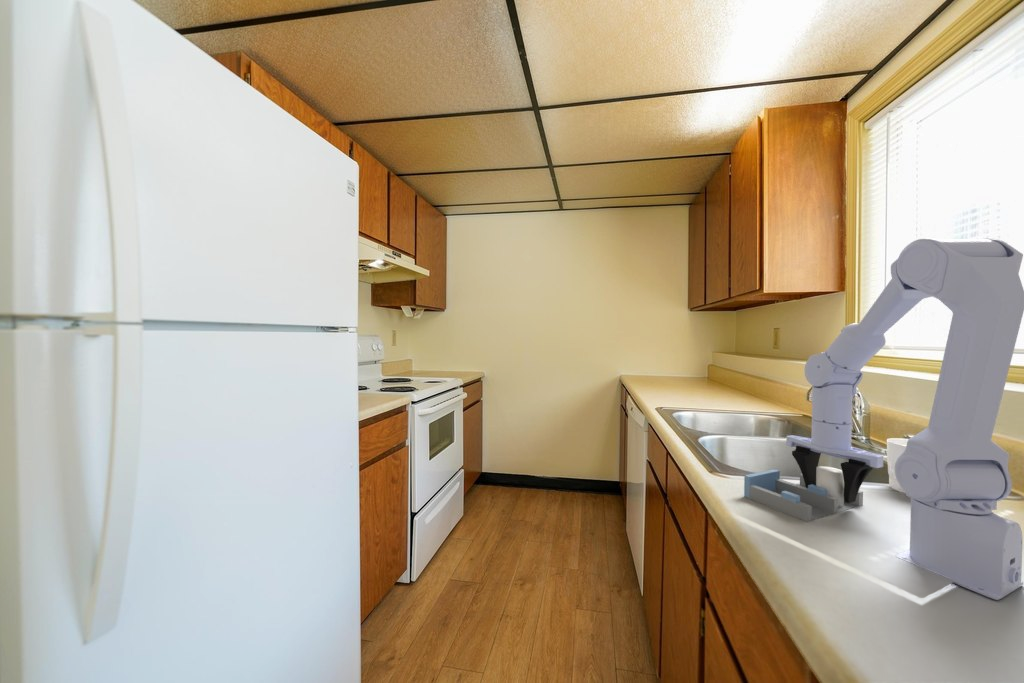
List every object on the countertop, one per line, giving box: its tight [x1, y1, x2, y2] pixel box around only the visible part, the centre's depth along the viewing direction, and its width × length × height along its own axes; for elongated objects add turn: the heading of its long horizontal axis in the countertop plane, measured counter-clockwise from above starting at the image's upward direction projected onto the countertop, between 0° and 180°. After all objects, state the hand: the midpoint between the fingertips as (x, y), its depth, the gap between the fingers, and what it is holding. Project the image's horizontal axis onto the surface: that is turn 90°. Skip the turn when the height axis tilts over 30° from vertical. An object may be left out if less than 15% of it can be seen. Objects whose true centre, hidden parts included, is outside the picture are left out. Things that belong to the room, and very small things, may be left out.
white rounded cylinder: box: [816, 465, 844, 507], centre depth 73 cm, size 4×4×6 cm
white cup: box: [886, 437, 910, 494], centre depth 79 cm, size 8×8×10 cm
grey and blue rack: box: [743, 469, 864, 523], centre depth 73 cm, size 11×16×5 cm
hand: (829, 494), depth 73 cm, fingers open, 6 cm apart
